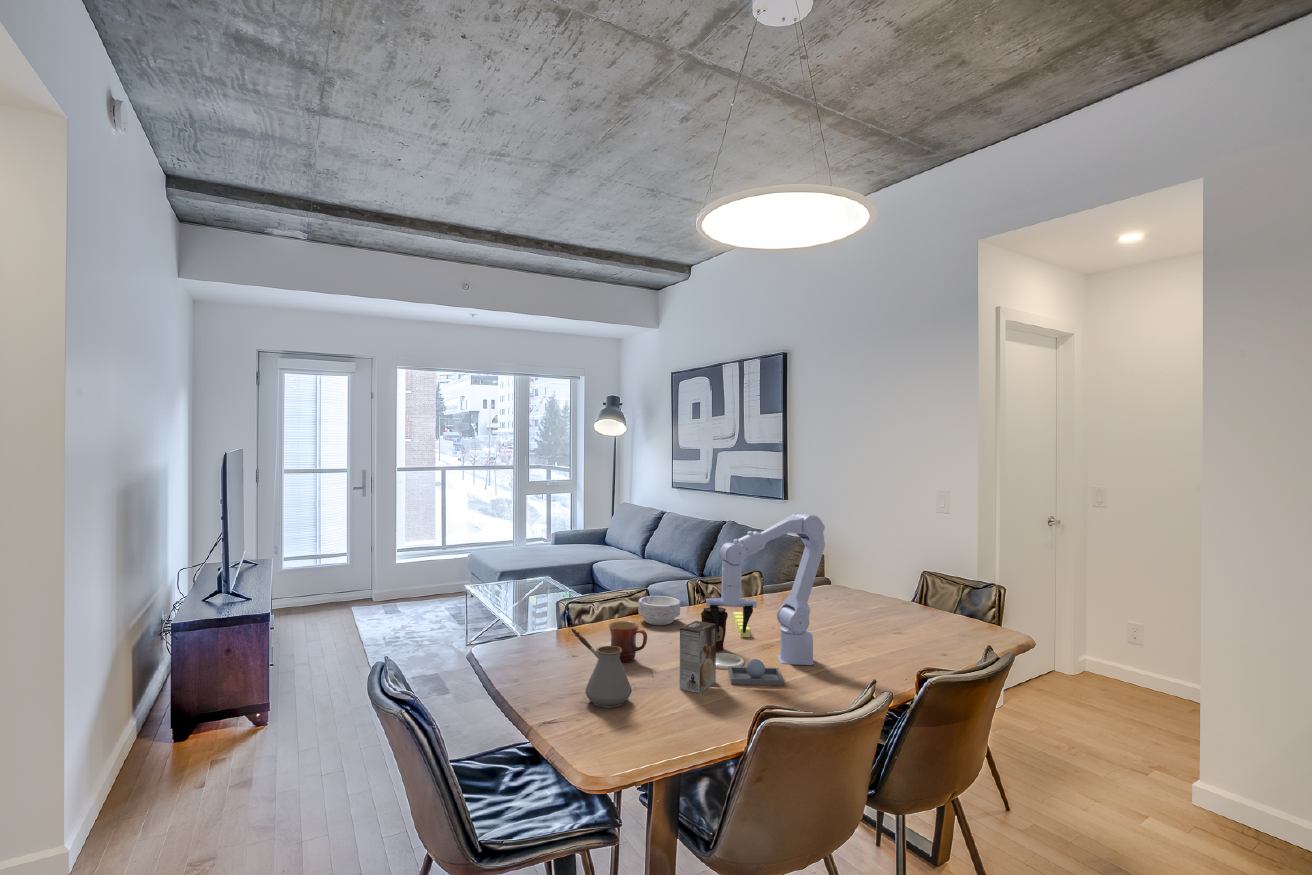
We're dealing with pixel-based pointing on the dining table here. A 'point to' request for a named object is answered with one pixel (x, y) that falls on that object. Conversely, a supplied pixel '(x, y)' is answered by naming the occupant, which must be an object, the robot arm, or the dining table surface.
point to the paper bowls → (659, 609)
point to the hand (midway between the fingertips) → (730, 631)
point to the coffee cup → (720, 635)
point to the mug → (626, 639)
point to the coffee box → (697, 656)
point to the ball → (755, 668)
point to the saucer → (728, 660)
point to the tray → (742, 678)
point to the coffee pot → (607, 677)
